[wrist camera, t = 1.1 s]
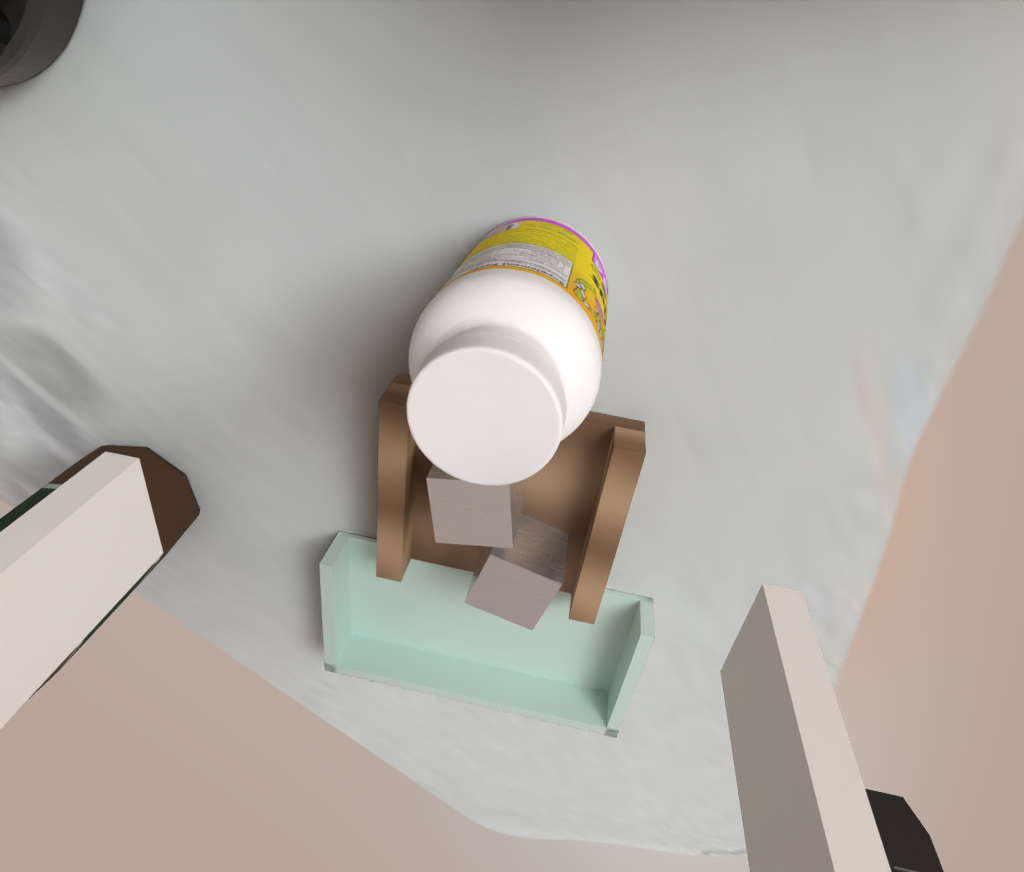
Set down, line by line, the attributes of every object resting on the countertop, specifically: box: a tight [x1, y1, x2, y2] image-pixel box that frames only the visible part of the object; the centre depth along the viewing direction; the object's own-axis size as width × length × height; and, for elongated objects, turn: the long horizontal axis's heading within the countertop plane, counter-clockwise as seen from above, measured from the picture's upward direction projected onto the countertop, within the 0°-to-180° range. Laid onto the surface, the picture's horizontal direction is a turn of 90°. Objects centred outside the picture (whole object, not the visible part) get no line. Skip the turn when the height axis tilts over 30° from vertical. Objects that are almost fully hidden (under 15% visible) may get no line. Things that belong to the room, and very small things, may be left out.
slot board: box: [376, 374, 646, 624], centre depth 34 cm, size 12×13×3 cm
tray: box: [319, 531, 655, 738], centre depth 40 cm, size 10×20×3 cm, turn 83°
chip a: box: [426, 464, 525, 548], centre depth 32 cm, size 4×4×4 cm
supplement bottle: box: [406, 216, 608, 485], centre depth 23 cm, size 7×7×13 cm
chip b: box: [465, 514, 569, 630], centre depth 34 cm, size 4×4×4 cm
